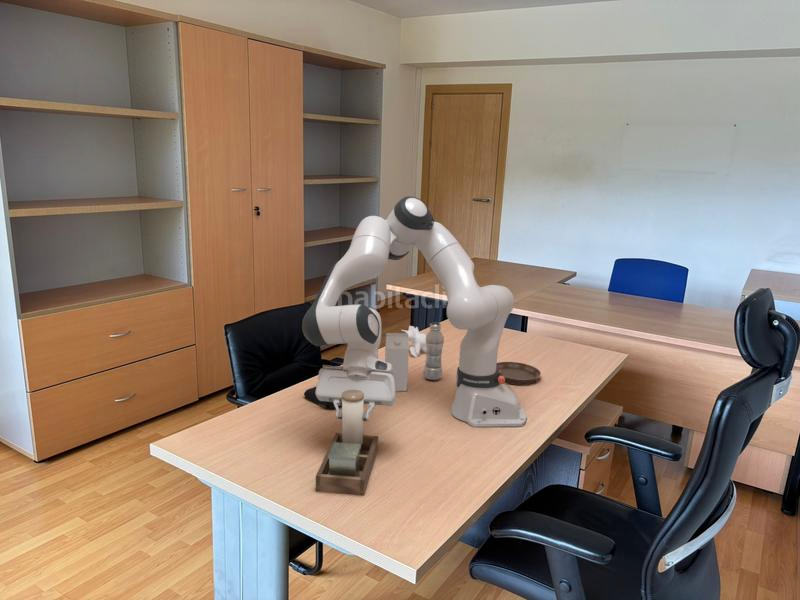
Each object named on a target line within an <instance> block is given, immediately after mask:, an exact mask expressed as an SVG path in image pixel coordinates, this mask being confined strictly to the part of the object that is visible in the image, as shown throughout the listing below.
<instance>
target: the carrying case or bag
mask: <svg viewBox="0 0 800 600" xmlns="http://www.w3.org/2000/svg"><path fill="white" fill-rule="evenodd" d="M316 387H317V385H316V386H314V387H311V388H307V389H306V390H305V391H304V393H303V396H304V397H305V399H308V401H311V402H313V403H315V404H317V405H318V406H319V407H321V408H325V409H327V410H331V409H332V410H336V408H335V405H334V403H333V402H329V401H320V400H319V399H318V398H317V397H316V394H315V391H316ZM341 406H342V402H341V404H340V406H338V408H339V409H340V408H342V407H341Z"/></svg>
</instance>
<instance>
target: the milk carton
mask: <svg viewBox="0 0 800 600" xmlns="http://www.w3.org/2000/svg"><path fill="white" fill-rule="evenodd" d="M385 335H386V336H385V349H384V350H385V352H384V362H387V363H390V364H391V365H392V367H393V370H394V380H395V386H396V392H407V391H408V379H409V377H408V376H409V375H408V374H409V373H408V372H409V353H410V348H409V346H410V345H409V341H408V333H406V332H386V334H385Z"/></svg>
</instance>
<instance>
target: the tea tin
mask: <svg viewBox="0 0 800 600" xmlns="http://www.w3.org/2000/svg"><path fill="white" fill-rule="evenodd" d="M360 449H361V444H352V443H340V442H334V444H333V446H332V448H331V451H330V453H329V455H328V459H329V475H338V476H349V477H359V475H360Z"/></svg>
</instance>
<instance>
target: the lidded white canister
mask: <svg viewBox="0 0 800 600" xmlns="http://www.w3.org/2000/svg"><path fill="white" fill-rule="evenodd" d="M363 400H364V393H363V392H362V391H359V390H347V391H344V392H343V393H342V407H341V410H342V419H341V433H342V443H352V444H361V445H362V443H363V435H364V421H363V420H362V417H363V412H364V404H363Z"/></svg>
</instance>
